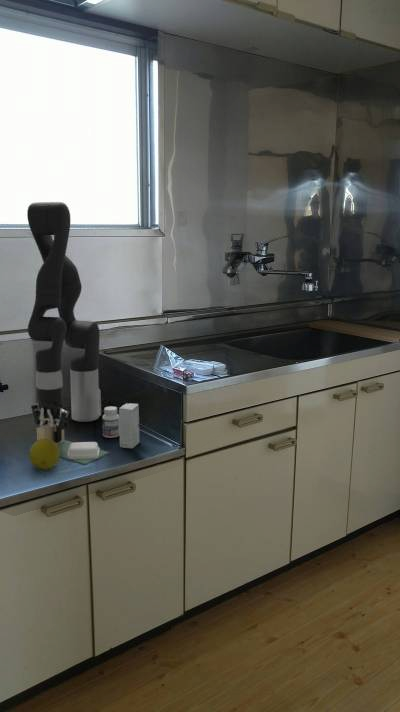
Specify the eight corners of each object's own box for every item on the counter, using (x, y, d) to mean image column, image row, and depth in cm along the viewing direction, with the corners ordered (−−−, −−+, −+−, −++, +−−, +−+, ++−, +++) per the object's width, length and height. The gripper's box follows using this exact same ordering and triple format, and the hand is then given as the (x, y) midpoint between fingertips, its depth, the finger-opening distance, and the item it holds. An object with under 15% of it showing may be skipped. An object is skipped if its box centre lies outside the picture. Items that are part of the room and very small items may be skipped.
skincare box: (133, 449, 176) (132, 409, 174) (118, 447, 177) (118, 408, 175) (140, 441, 182) (139, 403, 179) (126, 440, 183) (125, 402, 180)
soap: (100, 449, 174) (99, 439, 174) (99, 458, 168) (99, 448, 167) (68, 450, 173) (68, 440, 173) (66, 459, 167) (66, 449, 166)
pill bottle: (105, 431, 190) (105, 405, 188) (121, 432, 189) (121, 406, 187) (100, 437, 185) (99, 410, 183) (116, 438, 184) (116, 411, 182)
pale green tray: (58, 439, 183) (57, 419, 181) (108, 453, 172) (108, 432, 171) (33, 449, 174) (32, 428, 173) (85, 464, 164) (84, 442, 163)
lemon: (57, 475, 157) (56, 446, 155) (26, 476, 157) (25, 447, 155) (62, 459, 168) (61, 432, 166) (34, 459, 167) (33, 432, 165)
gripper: (76, 385, 173) (78, 441, 176) (41, 378, 180) (43, 432, 184) (58, 391, 166) (60, 449, 170) (22, 383, 174) (25, 439, 177)
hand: (51, 440), depth 177 cm, fingers open, 4 cm apart
